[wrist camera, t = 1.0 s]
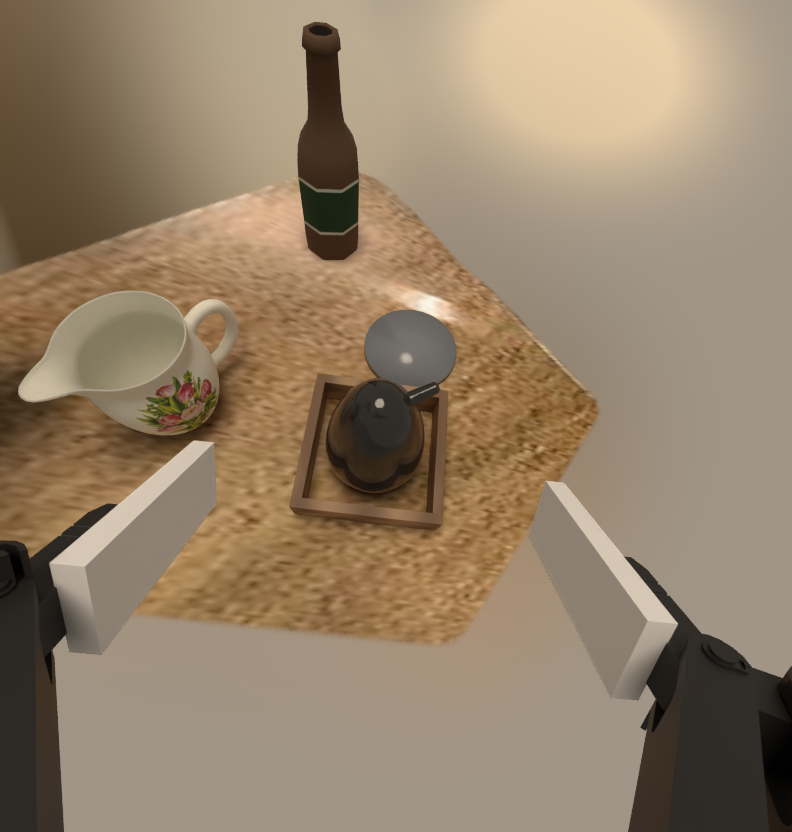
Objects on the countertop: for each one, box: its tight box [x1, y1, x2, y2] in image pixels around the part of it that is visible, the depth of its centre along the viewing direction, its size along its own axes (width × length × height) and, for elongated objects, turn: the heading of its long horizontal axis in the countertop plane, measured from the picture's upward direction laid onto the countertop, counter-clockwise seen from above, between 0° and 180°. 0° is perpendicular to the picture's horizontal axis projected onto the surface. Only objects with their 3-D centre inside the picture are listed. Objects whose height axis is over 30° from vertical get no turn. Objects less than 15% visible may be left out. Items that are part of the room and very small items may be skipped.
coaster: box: [365, 310, 456, 387], centre depth 50 cm, size 12×12×1 cm
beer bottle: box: [298, 22, 359, 259], centre depth 46 cm, size 8×8×24 cm
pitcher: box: [18, 291, 239, 435], centre depth 39 cm, size 11×18×14 cm, turn 140°
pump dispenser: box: [326, 378, 440, 493], centre depth 37 cm, size 10×10×15 cm
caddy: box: [289, 373, 448, 530], centre depth 42 cm, size 15×15×4 cm
